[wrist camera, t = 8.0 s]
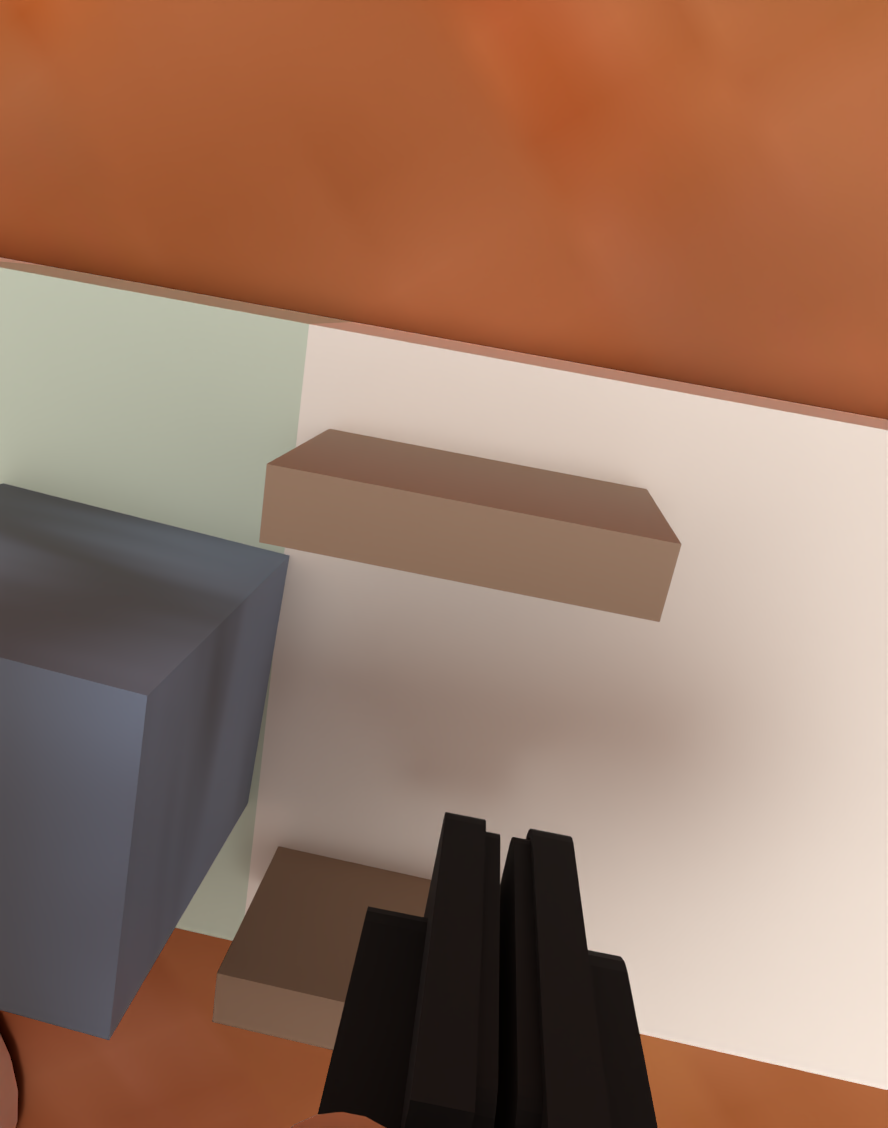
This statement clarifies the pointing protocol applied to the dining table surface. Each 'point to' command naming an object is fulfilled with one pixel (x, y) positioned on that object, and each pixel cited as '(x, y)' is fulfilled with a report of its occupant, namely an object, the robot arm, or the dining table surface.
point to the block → (117, 740)
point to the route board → (511, 644)
